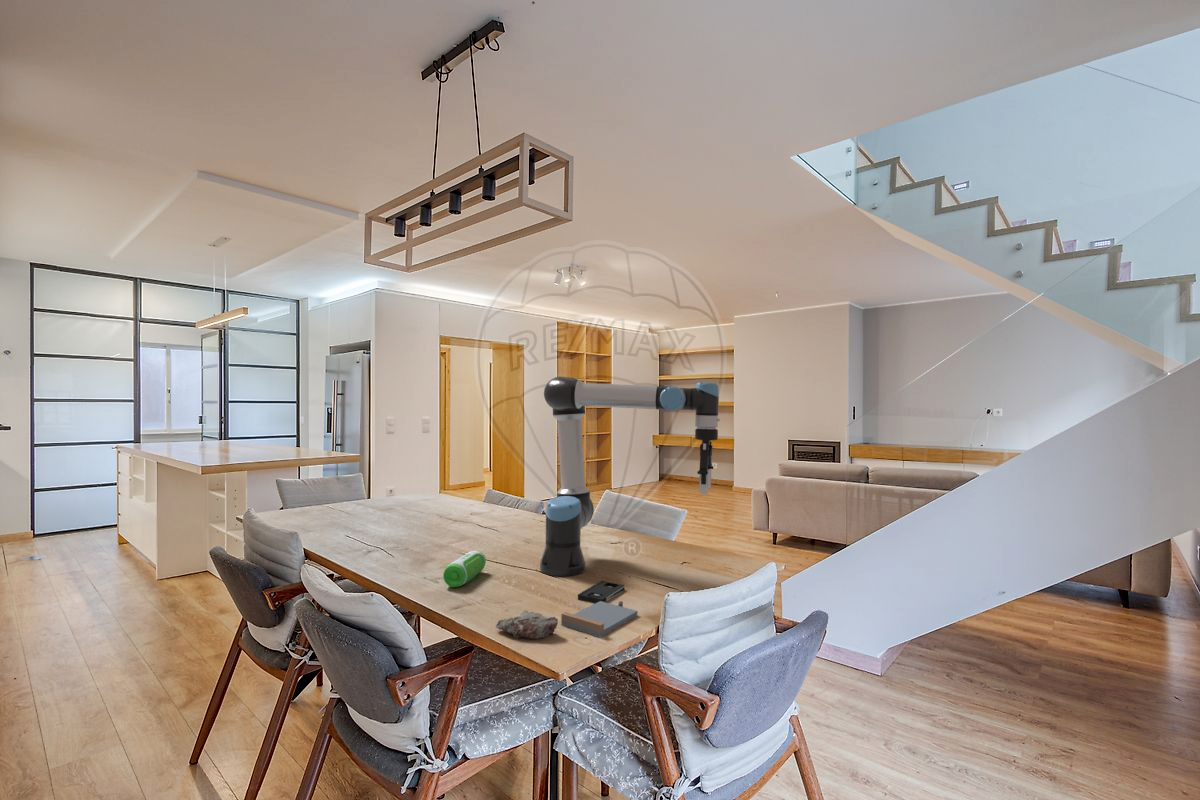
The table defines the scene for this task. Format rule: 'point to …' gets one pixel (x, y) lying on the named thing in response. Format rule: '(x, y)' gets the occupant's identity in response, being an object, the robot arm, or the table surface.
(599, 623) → the board
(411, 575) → the table surface
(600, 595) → the vhs tape
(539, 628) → the mineral rock
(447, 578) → the speaker
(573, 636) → the table surface
